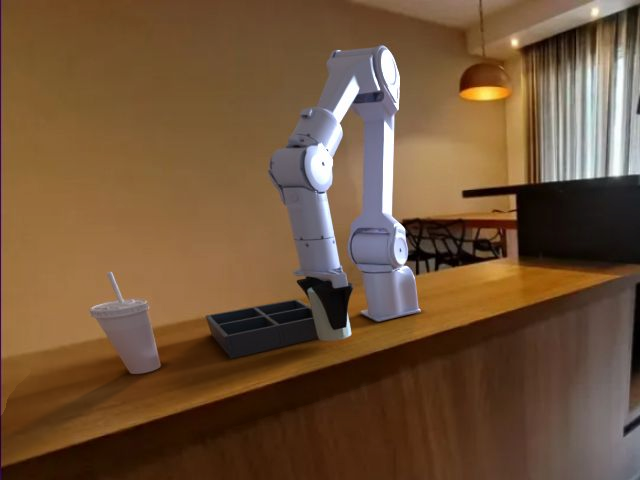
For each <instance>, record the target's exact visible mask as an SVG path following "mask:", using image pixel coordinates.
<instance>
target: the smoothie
mask: <svg viewBox="0 0 640 480" xmlns="http://www.w3.org/2000/svg"><path fill="white" fill-rule="evenodd" d="M106 275H107V277H108V279H109V282H110V284H111V287H112V289H113V291H114V294H115V296H116V298H117V300H113V301H112V300H111V301H107V302H103V303H100V304H96V305H92V307H90V308H88V311H89V313H90V317H91V318H93V319H95V320H96V322H97V323H98V325H99V326H100V328H101V329H102V331H103V332H104V334H105V335H106V338H107V339H108V340H109V342H110V343H111V345H112V347H113V348H114V350H115V352H116V353H117V355H118V356H119V358H120V359H121V361H122V363H123V364H124V366H125V367H126V369H127V371H128V372H129V374H133V375H139V374H146V373H150V372H153V371H156V370H158V369H159V368H161V366H162V365H161V360H160V355H159V351H158V348H157V343H156V339H155V334H154V331H153V327H152V322H151V321H152V320H151V318H150V313H149V309H150V308H151V307H150V306H151V305H149V302H148V300H146V299H143V298H127V299H124V297H123V296H122V295H123V294H122V293H121V291H120V288H119V285H118V284H117V281H116V278H115V276H114V274H113V271H106Z"/></svg>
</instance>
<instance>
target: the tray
mask: <svg viewBox="0 0 640 480" xmlns="http://www.w3.org/2000/svg"><path fill="white" fill-rule="evenodd" d="M205 319H206V323H207V325H208V329H209V332H210V334H211V336H212V337H213V338H214V340H215V341H216V342H217V343H218V344H219V346H220V347H221V348H222V349H223V351H224V352H225V353H226V354H227V355H228V357H229V358H230V359H231V360H232V359H237V358H241V357H245V356H250V355H254V354H258V353H261V352H267V351H270V350H275V349H278V348H279V349H280V348H283V347H286V346H287V347H288V346H292V345H296V344H301V343H304V342H309V341H313V340H318V339H319V338H318V336H317V331H316V327H315V322H314V318H313V313H312V309H311V305H308V304H306V303H304V302H303V301H300V300H299V299H291V300H290V299H289V300H284V301H279V302H274V303H267V304H262V305H256V306H251V307H245V308H240V309H235V310H229V311H224V312H218V313H211V314H207V315H205Z"/></svg>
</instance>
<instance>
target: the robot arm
mask: <svg viewBox="0 0 640 480" xmlns="http://www.w3.org/2000/svg"><path fill="white" fill-rule="evenodd" d="M325 64H326V70H327V75H328V77H327V79H326V82H325V85H324V87H323V90H322V91H321V92H322V93H321V95H320V96H319V97H320V98H319V100H318V103H317V104H316V106H310V107H307V108H302V109H301V111H300V112H299V117H300V119H299V120H298V122H297V124H296V126H295V128H294V130H293V132H292V133H291V134H290V135H289V137H288V139H287V140H288V141H287V143H286V145H285V147H284V148H278V149H276V150H275V151H274V152H273V154H272V155H271V156H270V159H269V164H268V165H269V169H268V170H267V174H268V176H269V180H270V181H271V183H272V184H273V186H274V187H275V188H276V190H277V191H278V194H279V197H280V201H281V202H282V203H283V205H284V206H285V207H286V212H287V215H288V220H289V223H290V229H291V233H292V237H293V240H294V246H295V249H296V250H295V251H296V254H297V259H298V265H299V268H298V269H293V270H292V273H293V276H295V277H305V278H300V279H297V280H296V283H297V285H298V286H299V288H301V290H302V291H303V293H304V294H305V295H306V297H307V299H308V301H309V302H310V300H309V296H308V291H307V290H308V289H309V288H311V287H312V290H313V291H314V292H315V293H316V295H317V296H318V298H319V299H320V301H321V303H322V305H323V307H324V309H325V312H326V315H327V317H328V320H329V323H330V325H331V327H332V329H333V330H337V329H341V328H345V327H346V326H347V312H348V310H349V302H350V299H351V295H352V292H353V290H354V284H353V283H351V282H348V278H347V273H346V272H344V270H343V265H342V264H341V262H340V258H339V252H338V247H337V242H336V237H335V232H334V227H333V221H332V216H331V211H330V210H331V209H330V205H329V199H328V193H327V191H328V190H329V189H330V187H331V186H332V184H333V166H334V163H333V162H334V160H333V158H334V156H335V153H336V151H337V149H338V147H339V145H340V143H341V140H342V139H343V128H342V126H341V122H342V120H343V118H344V117H345V115H346V114H347V112H348V111H349V109H350V110H351V111H352V113H353V114H355V115H357V116H358V117H360V118H361V119H362V120H363V156H362V157H363V160H362V161H363V163H362V166H363V167H362V212H361V214H359V216H358V217H357V218H355V219H354V220H353V221H352V222H351V224H350V234H349V237H348V240H347V244H346V251H347V255H348V258H349V260H350V261H351V263H352V264H353V265H354V266H356V268H357V271H360V272H361V278H362V283H363V289H364V297H365V302H366V308H367V309H364V310H360V312H359V313H360V315H363V316H365V317H367V318H369V319H371V320H373V321H375V322H384V321H387V320H393V319H395V318H400V317H404V316H409V315H413V314H417V313H421V312H422V311H421V309H420V308H419V299H418V293H417V283H416V278H415V275H414V273H413V271H412V269H411V268H410V267H409V266H407V265H405V264H406V263H407V260H408V256H409V248H408V243H407V237H406V229H405V227H404V226H403V225H402V224H401V222H399V221H398V220H397V219H395V218H394V217H393V191H394V190H393V189H394V187H393V185H394V153H395V152H394V151H395V149H394V148H395V114H397V112H398V111H399V108H400V107H399V104H400V73H399V70H398V67H397V63H396V61H395V58H394V55H393V54H392V52H391V51H390V50H389V48H388V47H386V46H385V45H383V44H381V45H377V46H376V47H366V48H364V47H363V48H357V49H356V48H354V49H346V50H340V49H334V50H333V51H331V53H330V55H329V58H328V59H327V61H326V63H325Z"/></svg>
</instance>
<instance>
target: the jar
mask: <svg viewBox="0 0 640 480" xmlns="http://www.w3.org/2000/svg"><path fill="white" fill-rule="evenodd" d="M307 291H308V296H309V299H308V301H309V300H310V301H309V306H310V307H311V309H312V313H313V318H314V322H315V327H316V331H317V336H318V338H317V339H318V340H320V341H323V342H336V341H341V340H345V339H347V338H349V337H350V336H352V329H351V328H352V327H351V323H350V319H349V313H348V312H347V326H346V327H345V328H341V329H337V330H333V329H332V327H331V325H330V323H329V320H328V317H327V315H326V312H325V309H324V307H323V305H322V303H321V301H320V299H319V298H318V296H317V295H316V293H315V292H314V291H313V290H312V287H311V288H309V289H308V290H307Z"/></svg>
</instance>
